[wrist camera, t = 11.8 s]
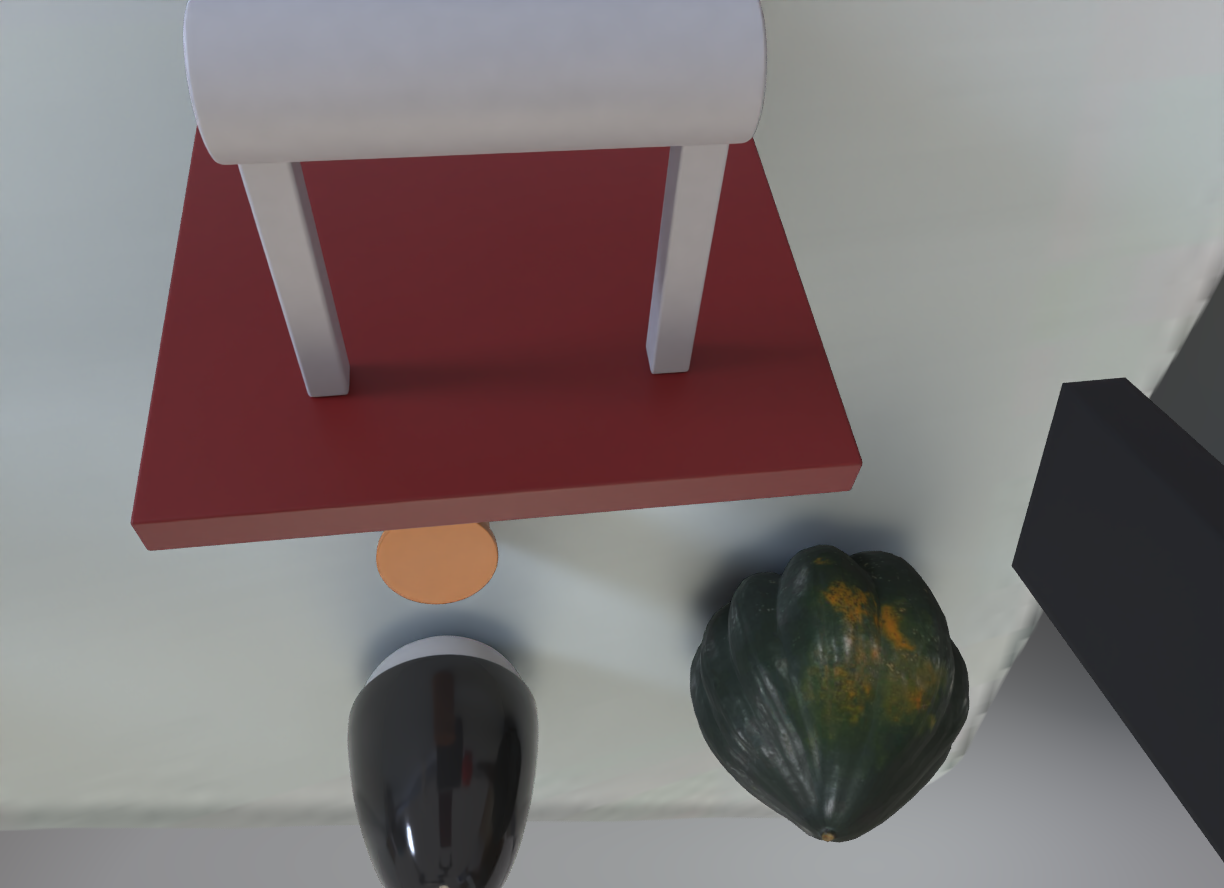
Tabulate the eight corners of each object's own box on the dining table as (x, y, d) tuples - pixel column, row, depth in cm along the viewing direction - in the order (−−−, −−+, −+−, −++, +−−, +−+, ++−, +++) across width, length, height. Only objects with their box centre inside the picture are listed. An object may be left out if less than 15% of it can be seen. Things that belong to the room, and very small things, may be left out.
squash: (1043, 598, 54) (970, 765, 42) (923, 770, 62) (833, 949, 50) (813, 465, 59) (690, 582, 47) (729, 641, 67) (607, 778, 55)
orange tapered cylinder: (389, 522, 52) (384, 610, 46) (376, 435, 49) (368, 518, 43) (494, 513, 52) (501, 598, 47) (488, 426, 49) (494, 507, 44)
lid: (851, 492, 18) (1022, 115, 11) (146, 552, 16) (-107, 159, 10) (679, -39, 28) (719, -395, 22) (236, -31, 27) (138, -410, 20)
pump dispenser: (314, 689, 57) (281, 946, 45) (427, 578, 54) (425, 823, 42) (455, 754, 62) (460, 1003, 50) (567, 656, 59) (603, 896, 46)
